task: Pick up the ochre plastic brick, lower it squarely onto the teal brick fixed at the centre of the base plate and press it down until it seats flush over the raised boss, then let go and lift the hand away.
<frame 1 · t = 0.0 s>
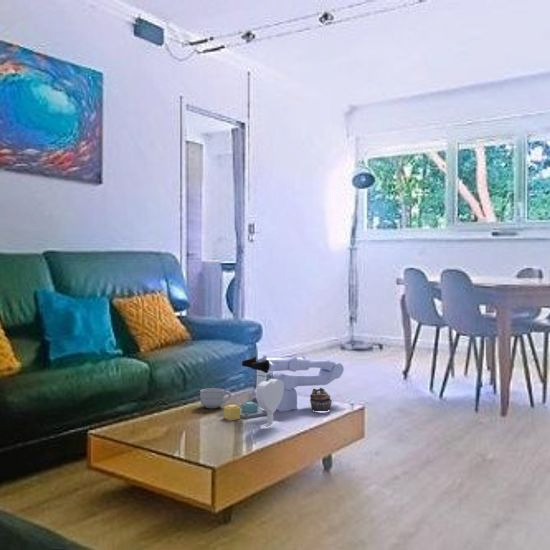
hand: (247, 364, 264), 22 cm above the table, tool horizontal, fingers open, 7 cm apart
heart sculpture: (270, 425, 250), on the table
syrup box: (264, 397, 299), on the table
ochre brick: (232, 418, 259), on the table
teacup: (215, 407, 278), on the table
cupcake: (320, 411, 272), on the table
base plate: (249, 413, 267), on the table
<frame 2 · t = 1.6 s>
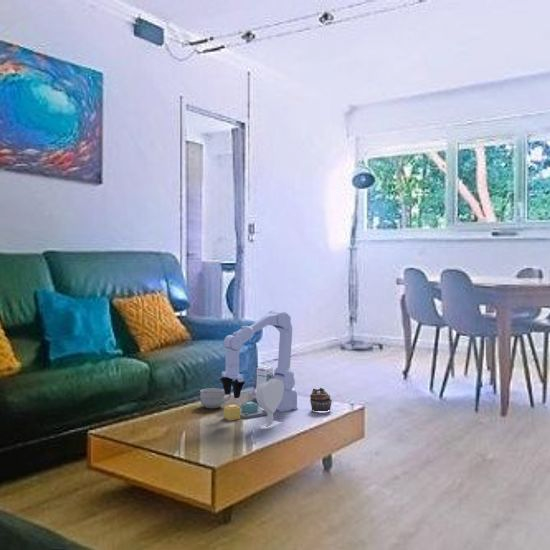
hand: (232, 396, 259), 9 cm above the table, tool pointing down, fingers open, 7 cm apart
nothing on the table moved.
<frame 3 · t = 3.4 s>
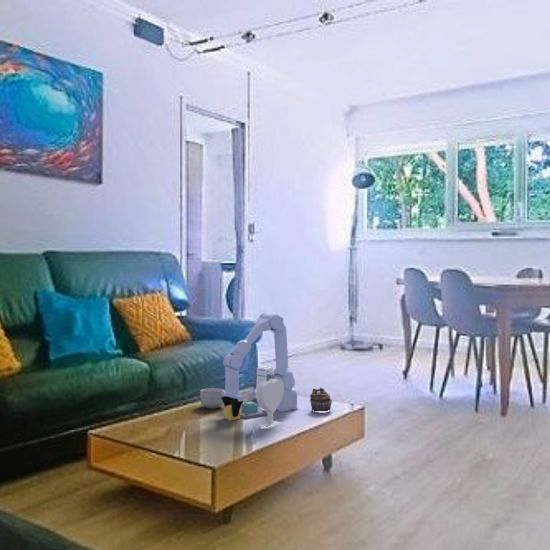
hand: (232, 414, 259), 1 cm above the table, tool pointing down, fingers closed on ochre brick, 5 cm apart
ochre brick: (232, 418, 259), on the table, touching gripper
everything else where it was.
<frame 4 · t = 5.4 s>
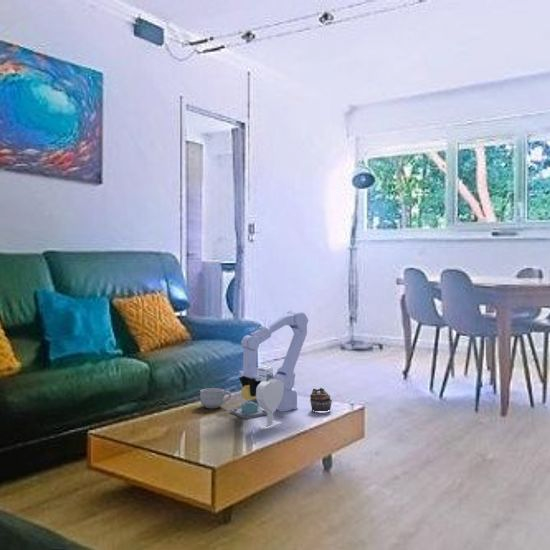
hand: (249, 394, 266), 8 cm above the table, tool pointing down, fingers closed on ochre brick, 5 cm apart
ochre brick: (249, 397, 266), point 7 cm above the table, touching gripper
everything else where it was.
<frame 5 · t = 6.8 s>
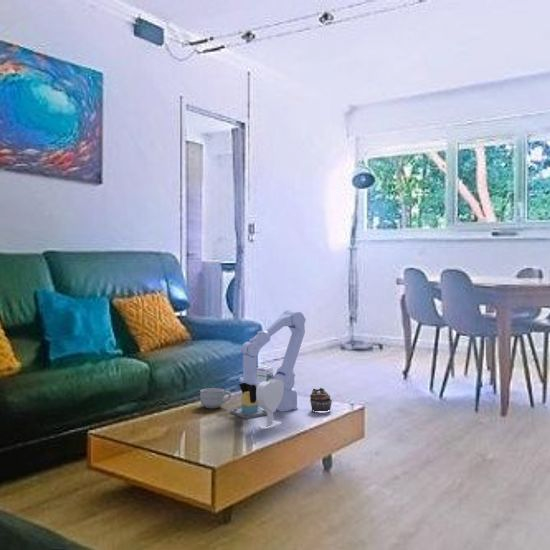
hand: (249, 401, 266), 6 cm above the table, tool pointing down, fingers closed on ochre brick, 5 cm apart
ochre brick: (249, 404, 266), point 4 cm above the table, touching base plate, gripper
everything else where it was.
when the fingers open (6 cm above the table, at t = 7.5 s): ochre brick stays where it is, resting on base plate.
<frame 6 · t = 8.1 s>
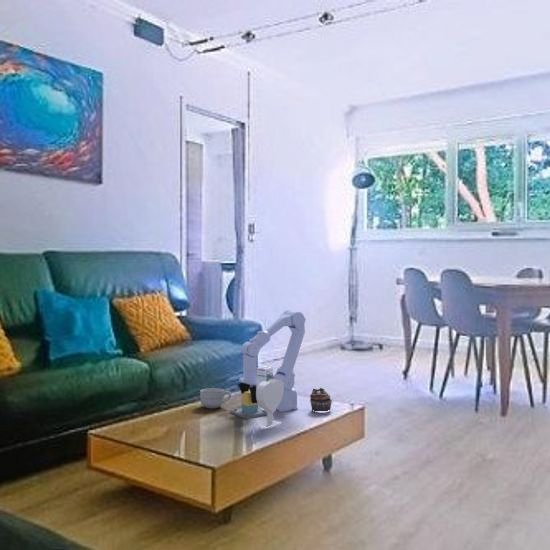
hand: (249, 401, 266), 6 cm above the table, tool pointing down, fingers open, 7 cm apart
ochre brick: (249, 404, 266), point 4 cm above the table, touching base plate
everything else where it was.
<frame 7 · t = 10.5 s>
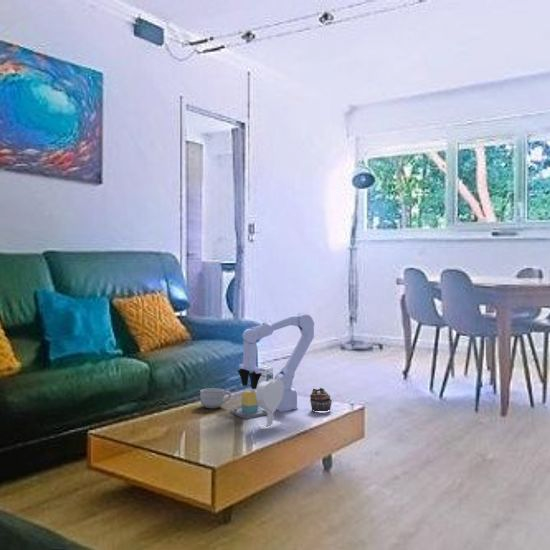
hand: (249, 387, 272), 10 cm above the table, tool pointing down, fingers open, 7 cm apart
nothing on the table moved.
at the end: ochre brick 0.1 cm off-centre on the base plate, point 4.2 cm above the base plate's base; ochre brick tilted 0°; the gripper is holding nothing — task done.
